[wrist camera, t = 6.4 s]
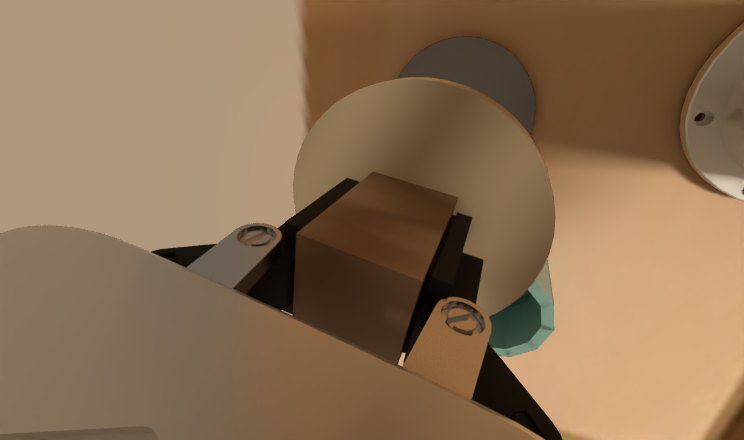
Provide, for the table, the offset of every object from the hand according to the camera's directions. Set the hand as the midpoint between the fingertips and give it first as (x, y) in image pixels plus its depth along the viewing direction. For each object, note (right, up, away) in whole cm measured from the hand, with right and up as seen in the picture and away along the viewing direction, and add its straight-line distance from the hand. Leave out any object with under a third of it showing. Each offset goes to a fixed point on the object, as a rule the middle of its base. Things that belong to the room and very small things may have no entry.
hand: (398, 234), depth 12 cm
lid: (+1, +1, +2) cm, 2 cm away
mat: (+6, +9, +14) cm, 17 cm away
